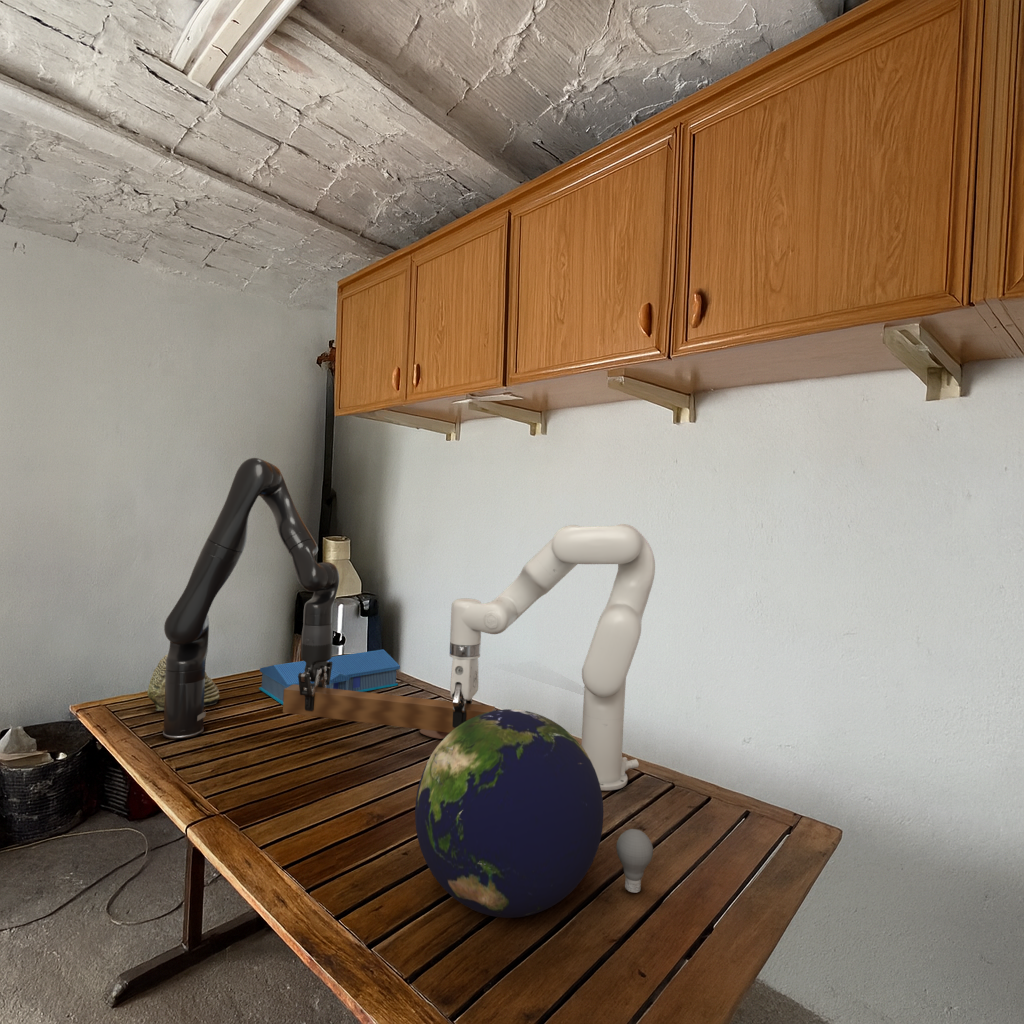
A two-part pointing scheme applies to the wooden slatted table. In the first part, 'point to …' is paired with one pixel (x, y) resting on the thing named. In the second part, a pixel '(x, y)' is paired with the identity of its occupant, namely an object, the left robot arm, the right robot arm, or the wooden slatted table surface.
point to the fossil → (158, 687)
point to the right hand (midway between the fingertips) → (462, 723)
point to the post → (378, 708)
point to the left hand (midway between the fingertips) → (314, 706)
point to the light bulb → (634, 857)
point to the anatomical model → (434, 734)
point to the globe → (509, 813)
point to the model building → (336, 673)
